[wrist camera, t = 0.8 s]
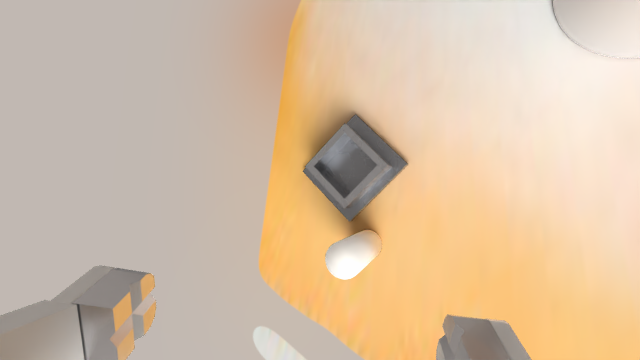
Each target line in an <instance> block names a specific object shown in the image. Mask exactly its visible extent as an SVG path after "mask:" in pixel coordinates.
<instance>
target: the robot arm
mask: <svg viewBox="0 0 640 360" xmlns="http://www.w3.org/2000/svg"><path fill="white" fill-rule="evenodd" d="M553 9H554V13H555V16H556V19H557V21H558V23H559V25H560V27H561V28H562V30H563V31H564V32H565V33H566V35H567V36H568V37H569V38H570V39H571V40H573V41H574V42H575V43H576V44H578V45H579V46H581V47H583V48H585V49H587V50H589V51H591V52H594V53H596V54H600V55H603V56H608V57H614V58H640V0H553ZM154 287H155V282H154V276H153V275H152V274H151V273H145V272H139V271H133V270H127V269H120V268H113V267H107V266H95V267H93V268H92V269H91V270H89V271H88V272H87V273H86V274H85V275H83V276H82V277H80V278H79V279H78V280H77V281H75V282H74V283H73V284H72V285H70V286H69V287H68V288H66V289H65V290H64V291H63V292H61V293H60V294H59V295H58V296H56V297H55V298H54V299H52V300H51V301H47V300H44V301H41V302H38V303H35V304H32V305H29V306H27V307H24V308H21V309H18V310H15V311H12V312H9V313H7V314H4V315H1V316H0V360H126V359H127V357H128V356H129V355H130V354H131V352H132V351H133V350H134V348H135V346H134V340H136V339H138V338H140V337H142V336H144V335H145V334H146V332H147V331H148V329H149V328H150V326H151V324H152V321H153V319H154V317H155V310H156V300H155V299H154V297H153V296H152V295H151V293H150V292H151V291H152V289H153V288H154ZM443 329H444V332H445V335H444V336H443V337H442V338H441V339H439V342H438V346H437V354H436V360H531V358H530V357H529V355H528V353H527V352H526V350H525V349H524V347H523V346H522V344H521V342H520V341H519V339H518V338H517V336H516V335H515V333H514V331H513V330H512V328H511V327H510V325H509V324H508V323H507V322H506V321H503V320H493V319H479V318H472V317H464V316H456V315H449V314H447V316H446V318H445V320H444V323H443Z"/></svg>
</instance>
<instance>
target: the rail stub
mask: <svg viewBox="0 0 640 360" xmlns="http://www.w3.org/2000/svg"><path fill="white" fill-rule="evenodd" d="M381 249H382V241H381V238H380V236H379V235H378V234H377V233H376V232H374V231H372V230H363V231H361V232H358V233H356V234H354V235H352V236H349V237H347V238H345V239H343V240H340V241H338V242H336V243H334V244H332V245H331V246H330V247H329V249H328V250H327V253H326V258H325V260H326V265H327V268H328V270H329V271H330V273H331V274H332V275H334V276H335V277H337V278H340V279H350V278H353V277H354V276H356V275H357V274H358V273H359V272H360V271H361V270H362V269H363V268H364V267H365V266H367V265H368V264H369V263H370V262H371V261H372V260H373V259H374V258H375V257H377V256H378V255H379V253H380V252H381Z"/></svg>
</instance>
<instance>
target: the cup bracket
mask: <svg viewBox="0 0 640 360" xmlns="http://www.w3.org/2000/svg"><path fill="white" fill-rule="evenodd" d="M407 165H408V164H407V163H406V162H405V161H404V160H403V159H402V158H401V157H400V156H399V155H398V154H397V153H396V152H395V151H394V150H393V149H392V148H391V147H389V146H388V145H387V144H386V143H385V142H384V141H383V140H382V139H381V138H380V137H379V136H378V135H377V134H376V133H375V132H374V131H373V130H372V129H371V128H370V127H368V126H367V125H366V124H365V123H364V122H363V121H362V120H361V119H360V118H359V117H358V116H357V115H356V114H355V115H354V116H353V117H352V118H351V119H350V120H349V122H348V123H347V124H345V123H344V125H343V126H342V127H341V128H340V129H339V130H338V131H337V132H336V133H335V134H334V135H333V137H332V138H331V139H330V140H329V141H328V142H327V143H326V144H325V145H324V146H323V147H322V149H321V150H320V151H319V152H318V153H317V154H316V155H315V156H314V157H313V158H312V159H311V160H310V162H309V163H308V164H307V165H306V166H305V167H306V168H305V169H304V170H303V172H304V173H305V174H306V175H307V176H308V178H309V179H310V180H311V181H312V182H313V183H314V184H315V185H316V186H317V187H318V188H319V189H320V190H321V192H322V193H323V194H324V195H325V196H326V197H327V198H328V199H329V200H330V201H331V202H332V203H333V205H334V206H335V207H336V208H337V209H338V210H339V211H340V212H341V213H342V214H343V215H344V216H345V217H346V219H347V220H348V221H349V222H350V221H352V220H353V219H354V218H355V217H356V216H357V215H358V214H359V213H360V212H361V211H362V210H363V209H364V208H365V207H366V206H367V205H368V204H369V203H370V202H371V201H372V200H373V199H374V198H375V197H376V196H377V195H378V194H379V193H380V192H381V191H382V190H383V189H384V188H385V187H386V186H387V185H388V184H389V183H390V182H391V181H392V180H393V179H394V178H395V177H396V176H397V175H398V174H399V173H400V172H401V171H402V170H403V169H404V168H405V167H406V166H407Z"/></svg>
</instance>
